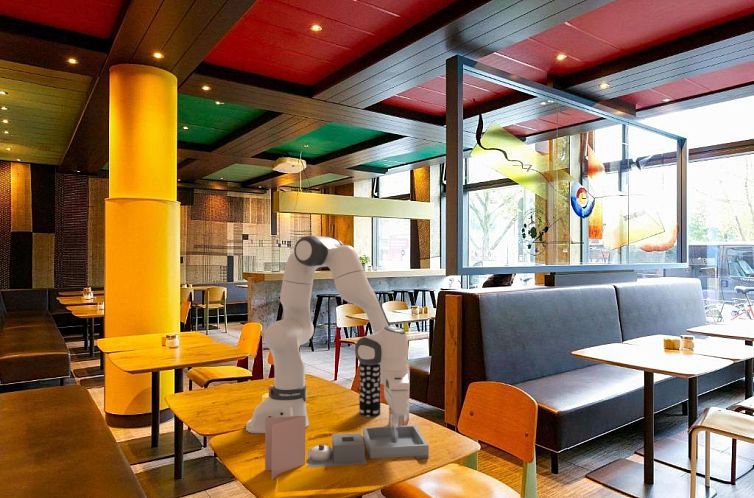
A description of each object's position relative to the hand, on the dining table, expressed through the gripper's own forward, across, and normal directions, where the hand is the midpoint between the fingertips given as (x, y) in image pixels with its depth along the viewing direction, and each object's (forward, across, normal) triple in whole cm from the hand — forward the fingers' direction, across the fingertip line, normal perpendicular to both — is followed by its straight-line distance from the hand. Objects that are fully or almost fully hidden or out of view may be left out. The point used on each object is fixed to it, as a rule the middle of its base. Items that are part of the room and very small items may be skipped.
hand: (394, 420), depth 155 cm
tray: (+9, 0, 0) cm, 9 cm away
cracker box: (+9, -21, +6) cm, 24 cm away
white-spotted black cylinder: (+9, -36, -3) cm, 37 cm away
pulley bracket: (+9, +6, -19) cm, 22 cm away
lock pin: (+7, 0, 0) cm, 7 cm away
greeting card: (+9, +13, -34) cm, 38 cm away
